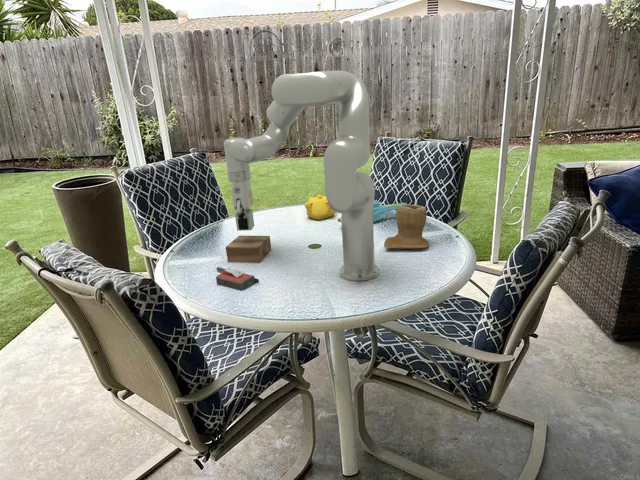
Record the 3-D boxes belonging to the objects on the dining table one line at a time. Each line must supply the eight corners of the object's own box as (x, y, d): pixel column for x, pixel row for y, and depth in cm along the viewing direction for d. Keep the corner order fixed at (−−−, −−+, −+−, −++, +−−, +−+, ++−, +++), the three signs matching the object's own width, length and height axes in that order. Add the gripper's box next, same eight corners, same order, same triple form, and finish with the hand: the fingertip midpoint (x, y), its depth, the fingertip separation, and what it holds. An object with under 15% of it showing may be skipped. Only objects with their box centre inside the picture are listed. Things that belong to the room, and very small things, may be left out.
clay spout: (428, 240, 161) (428, 200, 156) (428, 252, 151) (429, 210, 146) (386, 240, 165) (385, 201, 160) (383, 252, 154) (382, 210, 149)
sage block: (251, 230, 153) (249, 213, 151) (237, 230, 153) (234, 214, 151) (254, 225, 158) (252, 209, 156) (240, 226, 158) (238, 210, 156)
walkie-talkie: (264, 282, 138) (219, 270, 149) (262, 269, 137) (217, 258, 148) (244, 293, 132) (199, 280, 143) (242, 280, 130) (197, 268, 141)
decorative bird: (330, 227, 184) (328, 206, 181) (385, 212, 199) (385, 192, 196) (350, 235, 173) (348, 212, 170) (407, 218, 188) (407, 197, 184)
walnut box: (260, 263, 152) (258, 247, 150) (227, 263, 155) (225, 247, 153) (271, 251, 163) (269, 235, 161) (241, 250, 166) (239, 235, 164)
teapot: (310, 212, 207) (308, 191, 203) (337, 212, 205) (336, 190, 201) (304, 221, 194) (302, 199, 190) (333, 221, 192) (332, 198, 188)
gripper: (244, 180, 141) (250, 234, 147) (255, 170, 157) (261, 219, 163) (221, 181, 142) (228, 235, 148) (234, 171, 158) (241, 219, 164)
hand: (245, 226), depth 155 cm, fingers closed on sage block, 5 cm apart
